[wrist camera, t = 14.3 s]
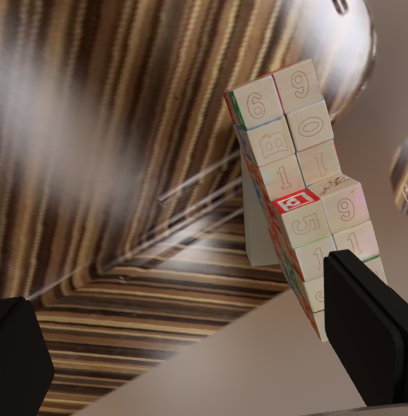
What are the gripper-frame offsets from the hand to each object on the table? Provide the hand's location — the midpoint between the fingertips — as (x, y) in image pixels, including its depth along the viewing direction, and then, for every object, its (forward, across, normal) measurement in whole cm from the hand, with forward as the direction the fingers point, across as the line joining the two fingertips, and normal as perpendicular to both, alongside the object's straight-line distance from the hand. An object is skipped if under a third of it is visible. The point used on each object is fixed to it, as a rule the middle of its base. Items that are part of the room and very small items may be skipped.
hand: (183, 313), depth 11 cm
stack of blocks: (+26, -10, +4) cm, 28 cm away
